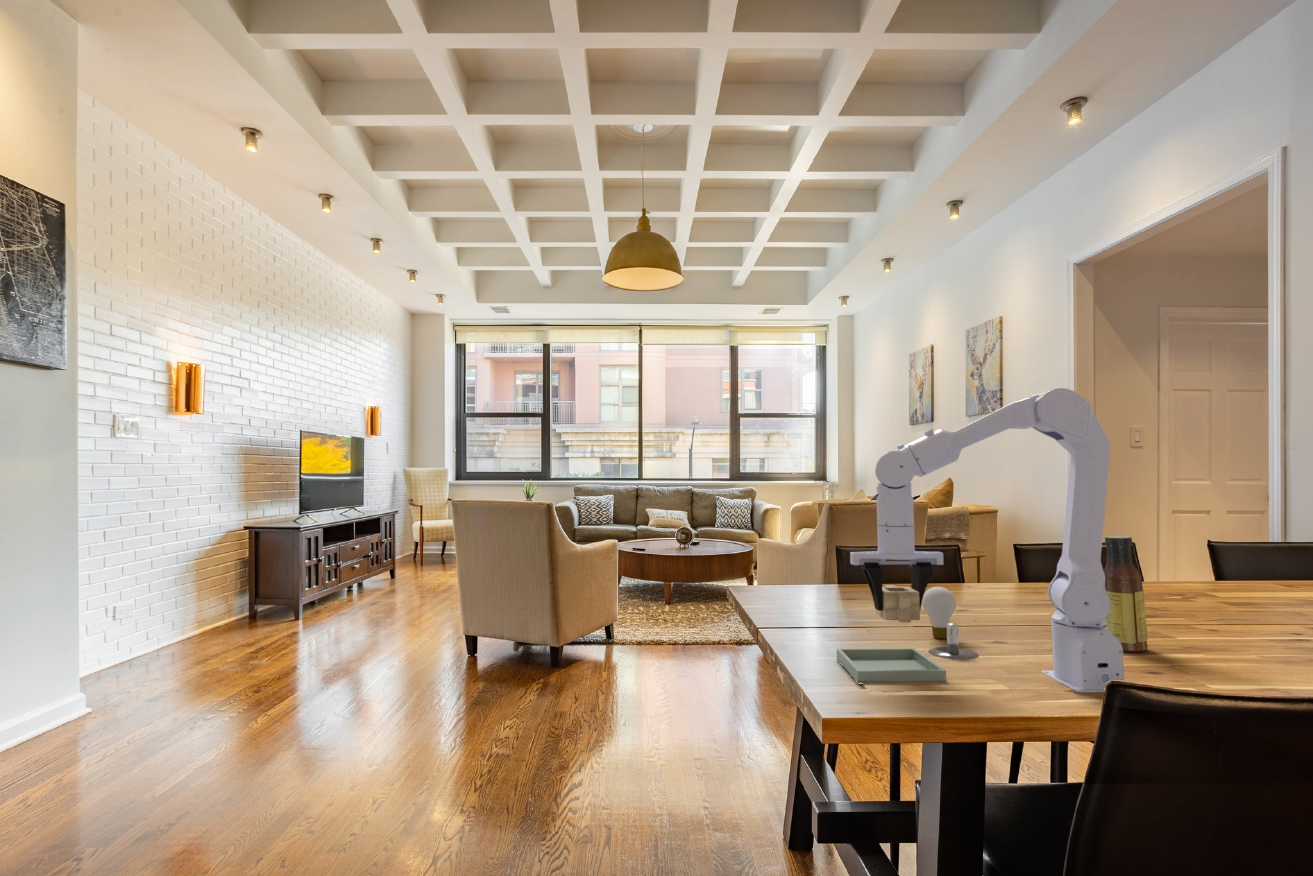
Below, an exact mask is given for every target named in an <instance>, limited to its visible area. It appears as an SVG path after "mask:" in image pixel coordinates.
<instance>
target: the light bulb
mask: <svg viewBox="0 0 1313 876" xmlns="http://www.w3.org/2000/svg"><path fill="white" fill-rule="evenodd" d="M921 605H922V608H923V609H924V611H925V614H927V617H928V620H929V623H930V625H931V630H932V631H931V632H932V636H933V638H935V639H936V640H938V639H939V640H945V639H946V638H947V623H950V621H951V617H952V615H953V614H954V612H955V611H956V609H957V608H956V607H957V602H956V598H955V596H954V595H953V593H952V592H951V591H950V590H948V589H947V588H945V587H943V586H933V587H930V588H929V589H927V590H925V592H924V596H923V599H922V604H921Z"/></svg>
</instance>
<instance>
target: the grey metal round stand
mask: <svg viewBox="0 0 1313 876" xmlns="http://www.w3.org/2000/svg"><path fill="white" fill-rule="evenodd" d="M946 638H947V639H946V641H947V642H946V644H947V646H942V647H934V648H933V647H932V648H930V649H928V653H929V654H930V655H931V656H935V657H936V658H941V659H946V660H947V659H948V660H961V661H966V660H974V659H978V657H980V655H979V653H977V652H976V651H973V650H971V649H966V648H960V645H959V644H960V641H959V638H960V637H959V623H958V622H957V623H956V622H949V623H947V637H946Z"/></svg>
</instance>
